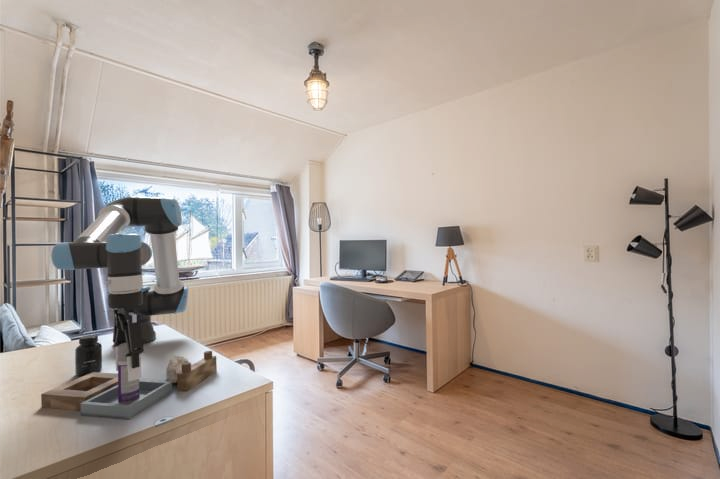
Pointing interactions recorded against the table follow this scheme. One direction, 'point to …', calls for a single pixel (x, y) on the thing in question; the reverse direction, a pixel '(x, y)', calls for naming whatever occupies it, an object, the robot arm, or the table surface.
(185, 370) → the bar
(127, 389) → the container
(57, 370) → the table surface
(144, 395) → the tray
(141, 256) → the robot arm
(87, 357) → the supplement bottle
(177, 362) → the stone
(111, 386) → the block
